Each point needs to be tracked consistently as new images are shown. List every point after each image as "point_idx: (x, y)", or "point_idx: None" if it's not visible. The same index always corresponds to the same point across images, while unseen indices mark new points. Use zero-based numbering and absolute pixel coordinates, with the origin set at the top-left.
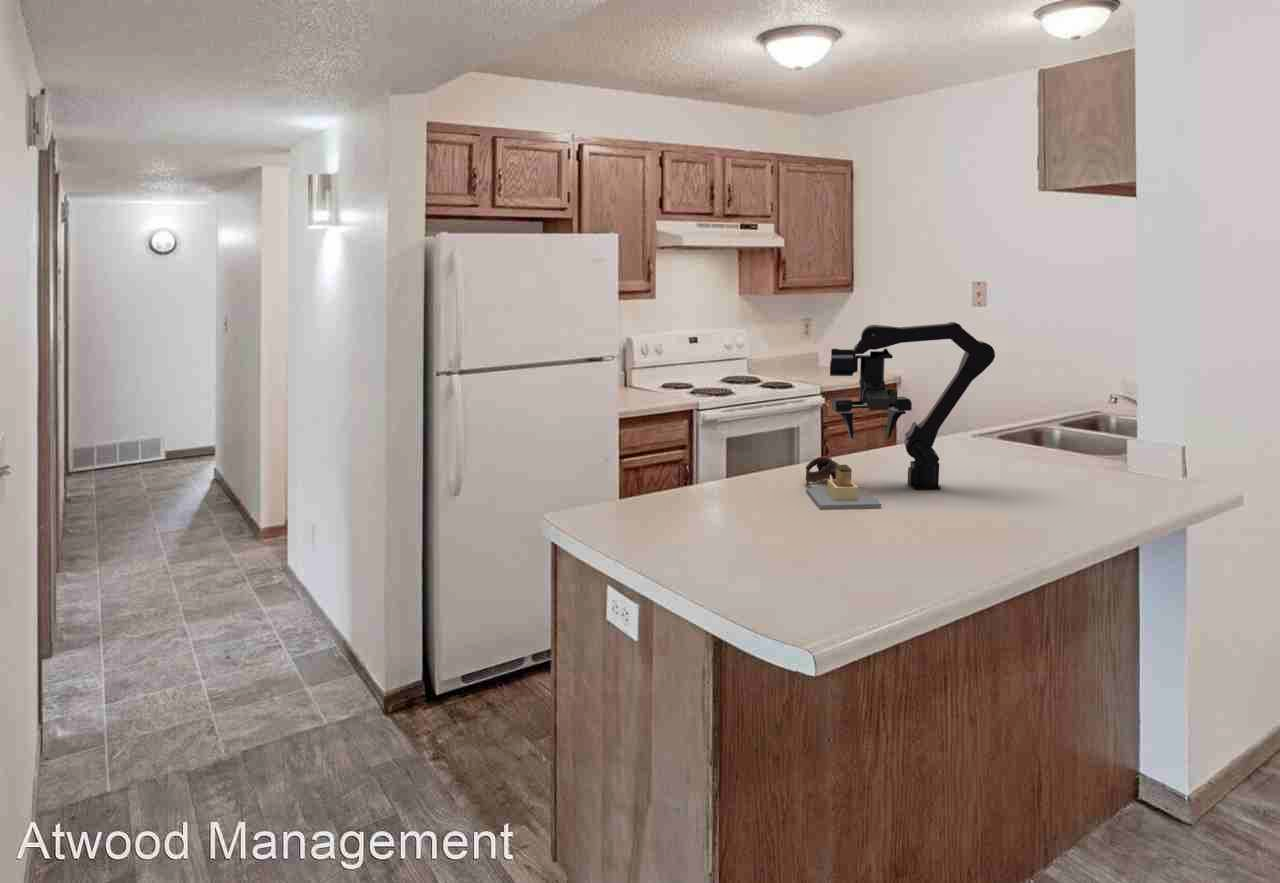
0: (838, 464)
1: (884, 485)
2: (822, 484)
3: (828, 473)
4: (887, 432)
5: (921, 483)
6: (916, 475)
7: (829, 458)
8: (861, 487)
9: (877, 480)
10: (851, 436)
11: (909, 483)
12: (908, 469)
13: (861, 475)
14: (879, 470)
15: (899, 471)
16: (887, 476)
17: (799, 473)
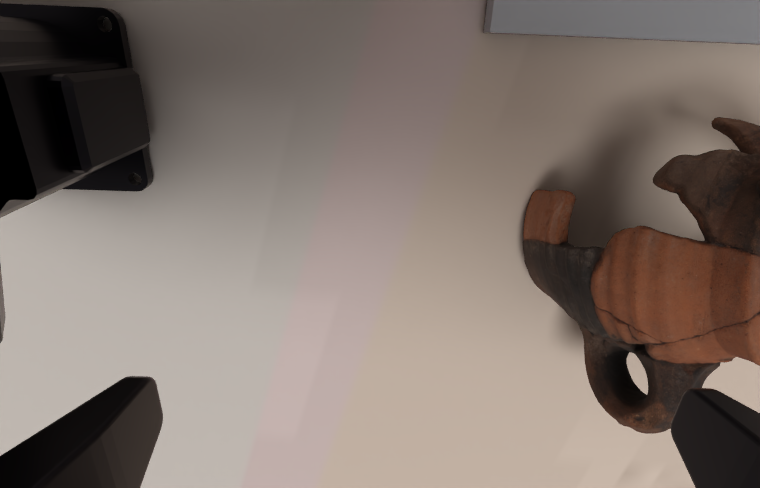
0: (641, 261)
1: (300, 167)
2: None
3: (752, 140)
4: (121, 478)
5: (51, 31)
6: (53, 60)
7: (757, 283)
8: (506, 18)
9: (310, 283)
10: (746, 406)
11: (141, 100)
12: (96, 156)
13: (364, 385)
14: (251, 457)
15: None
16: (236, 355)
17: (644, 443)
